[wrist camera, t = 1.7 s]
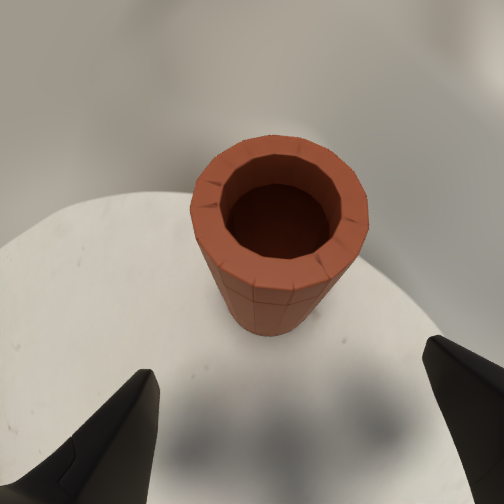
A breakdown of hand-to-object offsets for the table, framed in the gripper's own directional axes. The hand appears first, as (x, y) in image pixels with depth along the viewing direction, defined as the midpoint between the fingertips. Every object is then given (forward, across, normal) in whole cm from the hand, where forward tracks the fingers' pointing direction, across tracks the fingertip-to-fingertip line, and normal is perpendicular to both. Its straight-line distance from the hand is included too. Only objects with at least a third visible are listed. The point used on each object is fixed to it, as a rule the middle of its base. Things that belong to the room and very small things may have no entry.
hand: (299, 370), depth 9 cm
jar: (+12, 0, +4) cm, 13 cm away
